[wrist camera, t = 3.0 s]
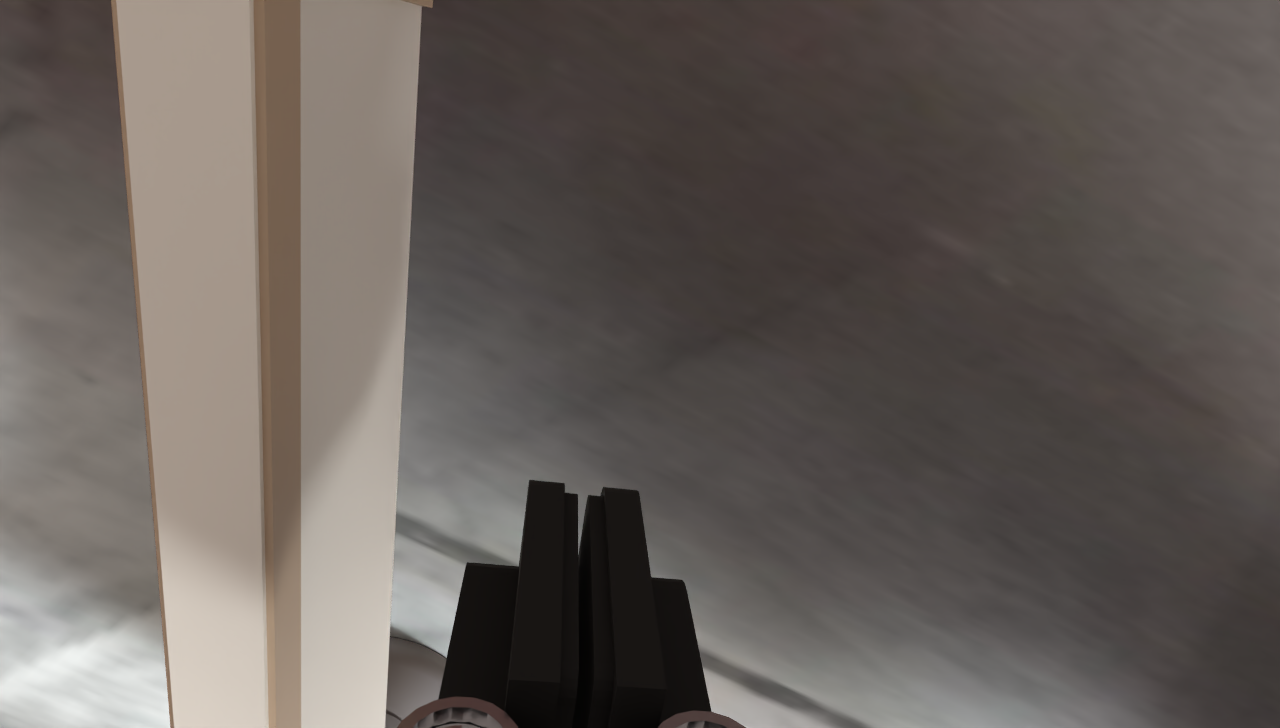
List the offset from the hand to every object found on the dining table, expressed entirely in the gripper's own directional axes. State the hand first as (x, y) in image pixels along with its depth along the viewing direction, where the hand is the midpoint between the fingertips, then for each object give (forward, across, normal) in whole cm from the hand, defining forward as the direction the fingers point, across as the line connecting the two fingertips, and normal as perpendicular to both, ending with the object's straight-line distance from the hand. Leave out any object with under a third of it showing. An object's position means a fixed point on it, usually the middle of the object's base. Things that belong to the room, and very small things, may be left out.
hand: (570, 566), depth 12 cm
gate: (+7, +4, +2) cm, 9 cm away
